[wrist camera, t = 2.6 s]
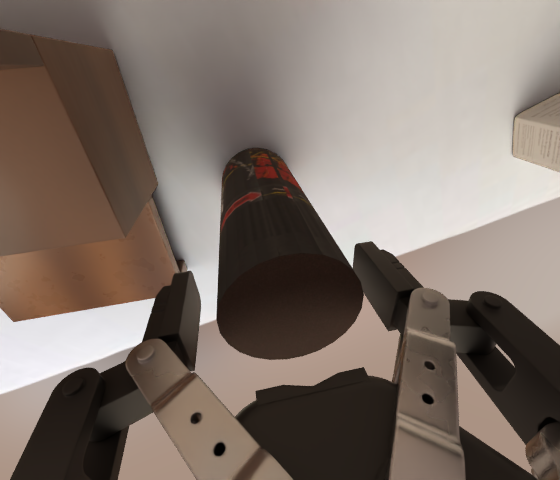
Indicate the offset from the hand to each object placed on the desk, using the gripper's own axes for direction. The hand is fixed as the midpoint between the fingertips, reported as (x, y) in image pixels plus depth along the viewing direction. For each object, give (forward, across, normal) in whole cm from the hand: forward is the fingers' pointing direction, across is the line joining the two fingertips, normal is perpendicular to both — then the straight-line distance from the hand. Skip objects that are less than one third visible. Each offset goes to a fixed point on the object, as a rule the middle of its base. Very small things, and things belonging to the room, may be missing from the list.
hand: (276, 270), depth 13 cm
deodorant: (+12, 0, 0) cm, 12 cm away
